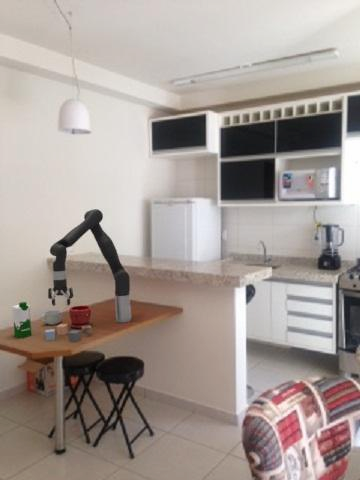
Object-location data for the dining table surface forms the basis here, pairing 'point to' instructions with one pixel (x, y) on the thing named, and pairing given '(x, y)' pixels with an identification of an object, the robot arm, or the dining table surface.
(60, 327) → the terracotta cube
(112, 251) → the robot arm
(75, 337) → the charcoal cube
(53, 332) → the slate blue cube
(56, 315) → the teacup
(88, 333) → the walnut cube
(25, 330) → the milk carton
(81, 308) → the plant pot
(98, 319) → the dining table surface
